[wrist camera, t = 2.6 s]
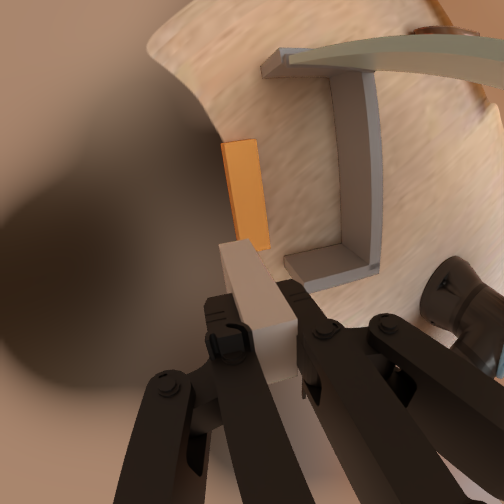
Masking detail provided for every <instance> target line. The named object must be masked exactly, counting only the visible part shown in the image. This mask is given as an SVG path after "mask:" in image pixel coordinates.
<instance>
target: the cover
mask: <svg viewBox="0 0 504 504" xmlns="http://www.w3.org/2000/svg"><path fill="white" fill-rule="evenodd" d="M283 64H284V67H285V68H317V69H336V70H348V71H358V72H367V73H374V72H375V71H396V72H409V73H420V74H428V75H436V76H443V77H449V78H455V79H460V80H465V81H470V82H475V83H479V84H484V85H488V86H492V87H495V88H499V89H502V90H504V40H502V39H495V38H488V37H480V36H469V35H452V34H418V35H400V36H388V37H379V38H371V39H364V40H357V41H351V42H345V43H340V44H335V45H330V46H325V47H321V48H316V49H312V50H308V51H304V52H301V53H297V54H284V56H283Z"/></svg>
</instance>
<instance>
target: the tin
mask: <svg viewBox="0 0 504 504" xmlns="http://www.w3.org/2000/svg"><path fill="white" fill-rule="evenodd" d="M414 32H415V34H416V35H418V34H452V35H469V36H480V33H479V32H476V31H472V30H468V29H464V28H460V27H455V26H429V27H422V28H418V29H415V30H414Z"/></svg>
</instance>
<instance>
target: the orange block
mask: <svg viewBox="0 0 504 504" xmlns="http://www.w3.org/2000/svg"><path fill="white" fill-rule="evenodd" d="M221 150H222V156H223V163H224V169H225V175H226V181H227V187H228V192H229V199H230V204H231V210H232V216H233V222H234V228H235V233H236V239H237V241H238V240H243V239H249V240H250V242H251V243H252V245H253V247H254V248H255V250H256V252H257V251H262V250H266V249H271V247H270V239H269V231H268V223H267V216H266V208H265V200H264V193H263V185H262V178H261V171H260V164H259V156H258V149H257V142H256V139H246V140H239V141H233V142H227V143H221Z"/></svg>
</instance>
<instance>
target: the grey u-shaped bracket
mask: <svg viewBox="0 0 504 504" xmlns="http://www.w3.org/2000/svg"><path fill="white" fill-rule="evenodd" d="M308 50H312V49H308V48H278V49H277V50H276V51H275V52H274V53H273V54H272V55H271V56H270V57H269V58H268V59H267V60H266V61H265V62H264V63H263V64H262V65H261V73H262V78H280V77H323V78H329V80H330V86H331V93H332V101H333V109H334V117H335V126H336V136H337V148H338V160H339V176H340V196H341V244H337V245H332V246H328V247H323V248H319V249H314V250H310V251H306V252H301V253H297V254H292V255H288V256H284V264H285V268H286V270H287V271H288V272H289V274H290V275H291V277H292V278H293V279H294V280H295V281H297V282H299V283H301V284H302V285H303V287H304V288H305V289H306V291H307V292H308V293H309V294H310V293H314V292H318V291H321V290H325V289H328V288H332V287H336V286H339V285H343V284H346V283H350V282H353V281H356V280H360V279H363V278H366V277H370V276H373V275H376V274H379V268H380V256H381V242H382V221H383V163H382V143H381V129H380V118H379V108H378V100H377V92H376V85H375V78H374V73H367V72H358V71H348V70H336V69H317V68H285V67H284V64H283V56H284V54H297V53H301V52H304V51H308Z"/></svg>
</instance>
